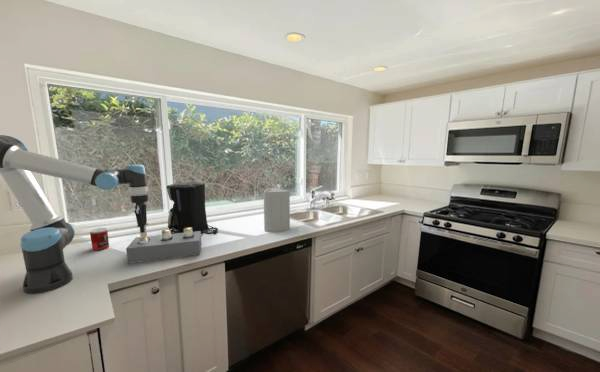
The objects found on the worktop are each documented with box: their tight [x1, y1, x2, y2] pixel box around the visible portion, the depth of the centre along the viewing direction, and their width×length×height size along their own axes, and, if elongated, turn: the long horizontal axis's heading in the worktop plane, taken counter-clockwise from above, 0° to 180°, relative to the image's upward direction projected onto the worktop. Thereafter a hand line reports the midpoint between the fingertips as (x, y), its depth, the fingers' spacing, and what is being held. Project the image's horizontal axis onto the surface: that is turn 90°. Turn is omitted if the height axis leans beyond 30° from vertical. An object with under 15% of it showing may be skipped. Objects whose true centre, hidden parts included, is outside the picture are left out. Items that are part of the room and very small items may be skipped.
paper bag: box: [263, 187, 291, 233], centre depth 176 cm, size 19×15×28 cm
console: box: [125, 231, 202, 264], centre depth 138 cm, size 16×34×8 cm, turn 108°
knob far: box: [184, 227, 193, 239], centre depth 141 cm, size 4×4×8 cm
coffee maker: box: [166, 181, 219, 235], centre depth 172 cm, size 23×32×34 cm
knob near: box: [139, 237, 149, 243], centre depth 134 cm, size 4×4×8 cm
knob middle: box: [161, 228, 172, 241], centre depth 137 cm, size 4×4×8 cm
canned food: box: [89, 227, 110, 252], centre depth 144 cm, size 8×8×11 cm
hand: (144, 237), depth 134 cm, fingers closed
